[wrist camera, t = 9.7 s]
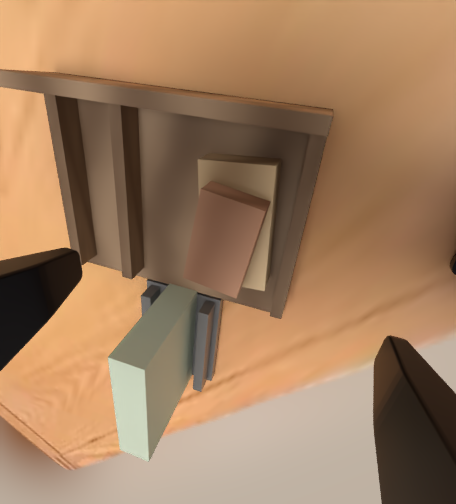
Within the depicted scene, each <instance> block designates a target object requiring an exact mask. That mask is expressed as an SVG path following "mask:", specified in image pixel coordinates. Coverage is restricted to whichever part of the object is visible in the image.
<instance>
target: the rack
mask: <svg viewBox="0 0 456 504" xmlns="http://www.w3.org/2000/svg"><path fill="white" fill-rule="evenodd" d="M0 87H4V88H11V89H17V90H24V91H31V92H37V93H44V98H45V104H46V109H47V115H48V121H49V126H50V132H51V138H52V144H53V149H54V155H55V161H56V166H57V172H58V178H59V183H60V189H61V195H62V200H63V206H64V212H65V217H66V223H67V229H68V235H69V240H70V246H71V249H73V250H76V251H77V252H78V253H79V255H80V260H81V265H83V264H85V263H86V262H90V263H94V264H97V265H101V266H104V267H108V268H112V269H115V270H119V271H122V276H123V277H126V278H129V279H133V278H134V277H135V276H136V275H137V276H141V277H144V278H148V279H151V280H155V281H159V282H162V283H166V284H173V285H177V286H180V287H184V288H188V289H191V290H195V291H197V292H198V293H202V294H206V295H209V296H213V297H216V298H220V299H224V300H227V301H231V302H235V303H238V304H242V305H245V306H249V307H253V308H256V309H260V310H263V311H267V312H271V313H270V316H272V317H275V318H279V319H281V318H282V314H283V310H284V306H285V302H286V298H287V294H288V290H289V286H290V282H291V278H292V274H293V270H294V266H295V262H296V258H297V254H298V250H299V246H300V242H301V238H302V234H303V230H304V226H305V222H306V219H307V215H308V211H309V207H310V203H311V199H312V195H313V191H314V187H315V183H316V179H317V175H318V171H319V167H320V163H321V159H322V155H323V151H324V147H325V143H326V139H327V136H328V134H329V130H330V126H331V122H332V118H333V109H326V108H318V107H311V106H303V105H296V104H288V103H281V102H273V101H266V100H258V99H251V98H243V97H236V96H228V95H220V94H213V93H205V92H198V91H190V90H183V89H175V88H168V87H160V86H153V85H145V84H138V83H130V82H122V81H115V80H107V79H100V78H92V77H85V76H77V75H70V74H62V73H55V72H37V71H19V70H2V69H0ZM209 153H217V154H230V155H242V156H255V157H268V158H280V159H282V160H281V170H280V180H279V190H278V200H277V210H276V220H275V230H274V240H273V250H272V260H271V270H270V277H269V280H268V283H267V285H266V288H265V291H261V290H256V289H250V288H245V287H241V290H240V292H239V294H238V296H237V298H233V297H231V296H228V295H226V294H223V293H221V292H218V291H216V290H213V289H211V288H208V287H205V286H203V285H200V284H198V283H195V282H193V281H190V280H188V279H185V278H183V274H184V269H185V264H186V259H187V254H188V249H189V245H190V240H191V235H192V230H193V225H194V220H195V215H196V210H197V205H198V200H199V188H198V159H199V158H201V157H203V156H205V155H207V154H209Z"/></svg>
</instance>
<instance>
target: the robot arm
mask: <svg viewBox="0 0 456 504" xmlns="http://www.w3.org/2000/svg"><path fill="white" fill-rule="evenodd" d="M450 269H451V271H452V272H453V273H454V274H455V275H456V254H455V256H454V258H453V259H452V261H451V263H450ZM81 278H82V267H81V260H80V255H79V253H78V252H77V251H76V250H73V249H69V248H60V249H55V250H50V251H45V252H40V253H35V254H31V255H26V256H21V257H16V258H11V259H6V260H2V261H0V371H1V370H2V369H3V368H4V367H5V366H6V365H7V364H8V363H9V362H10V361H11V360H12V359H13V357H14V356H15V355H16V354H17V353H18V352H19V351H20V350H21V349H22V348H23V347H24V346H25V345H26V344H27V343H28V342H29V341H30V340H31V339H32V337H33V336H34V335H35V334H36V333H37V332H38V331H39V330H40V329H41V328H42V327H43V326H44V325H45V324H46V323H47V322H48V320H49V319H50V318H51V317H52V316H53V315H54V313H55V312H56V311H57V310H58V308H59V307H60V306H61V304H62V303H63V302H64V301H65V299H66V298H67V297H68V296H69V294H70V293H71V292H72V290H73V289H74V288H75V287H76V285H77V284H78V283H79V281H80V280H81ZM373 396H374V398H373V400H374V401H373V402H374V403H373V425H374V437H375V445H376V454H377V463H378V473H379V482H380V491H381V500H382V504H456V394H455V393H454V391H453V390H452V389H451V388H450V387H449V386H448V385H447V384H446V383H445V382H444V380H443V379H442V378H441V377H440V376H439V375H438V374H437V373H436V372H435V371H434V370H433V369H432V367H431V366H430V365H429V364H428V363H427V362H426V361H425V360H424V359H423V358H422V356H421V355H420V354H419V353H418V352H417V351H416V350H415V349H414V348H413V347H412V346H411V344H410V343H409V342H408V341H407V340H405V339H402V338H398V337H395V336H391V335H390V336H387V337H386V338H385V340H384V342H383V344H382V346H381V348H380V350H379V352H378V354H377V356H376V358H375V362H374V395H373Z"/></svg>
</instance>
